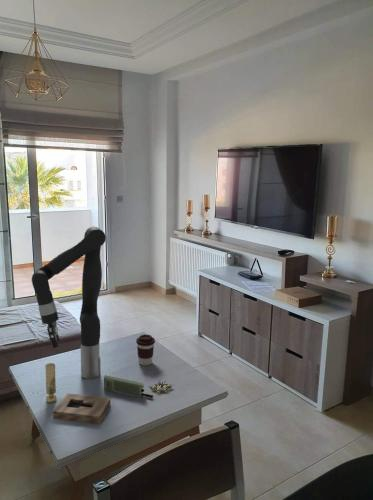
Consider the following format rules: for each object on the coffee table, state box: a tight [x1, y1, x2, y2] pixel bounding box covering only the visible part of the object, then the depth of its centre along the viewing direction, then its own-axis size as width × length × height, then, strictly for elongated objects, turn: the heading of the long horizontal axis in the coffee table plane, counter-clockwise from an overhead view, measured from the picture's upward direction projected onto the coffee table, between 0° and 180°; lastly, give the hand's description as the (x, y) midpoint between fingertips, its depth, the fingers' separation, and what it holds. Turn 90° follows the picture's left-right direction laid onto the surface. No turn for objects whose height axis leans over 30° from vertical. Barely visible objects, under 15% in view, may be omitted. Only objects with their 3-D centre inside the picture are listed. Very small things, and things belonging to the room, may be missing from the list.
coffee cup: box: [135, 334, 156, 366], centre depth 217 cm, size 10×10×15 cm
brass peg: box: [44, 362, 57, 404], centre depth 178 cm, size 4×4×17 cm
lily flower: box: [151, 379, 171, 395], centre depth 193 cm, size 12×12×5 cm
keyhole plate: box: [52, 393, 111, 425], centre depth 172 cm, size 20×14×3 cm
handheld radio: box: [103, 374, 154, 399], centre depth 187 cm, size 7×3×25 cm
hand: (56, 344), depth 191 cm, fingers open, 8 cm apart
